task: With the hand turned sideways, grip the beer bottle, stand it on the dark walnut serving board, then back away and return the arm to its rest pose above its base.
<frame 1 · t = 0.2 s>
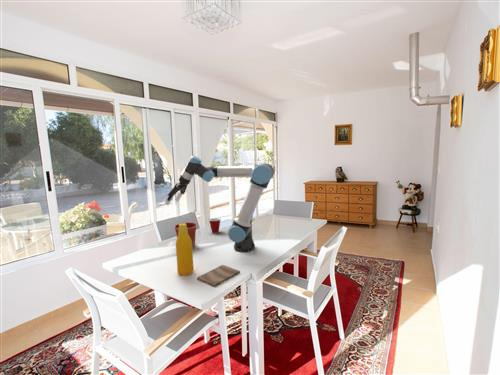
hand: (171, 202, 184), 35 cm above the table, tool tilted 35°, fingers open, 13 cm apart
flower pot: (186, 246, 198), on the table
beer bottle: (185, 272, 155), on the table
plastic cup: (215, 232, 230), on the table
walnut board: (218, 276, 149), on the table
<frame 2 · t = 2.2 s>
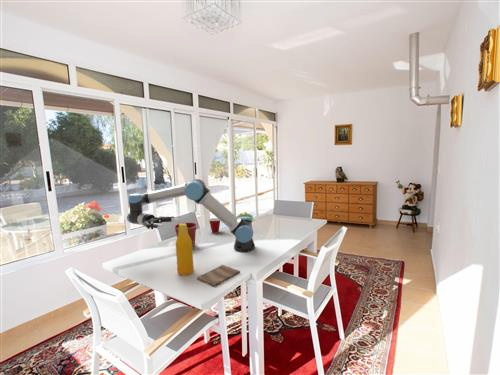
hand: (171, 223, 156), 28 cm above the table, tool horizontal, fingers open, 13 cm apart
nothing on the table moved.
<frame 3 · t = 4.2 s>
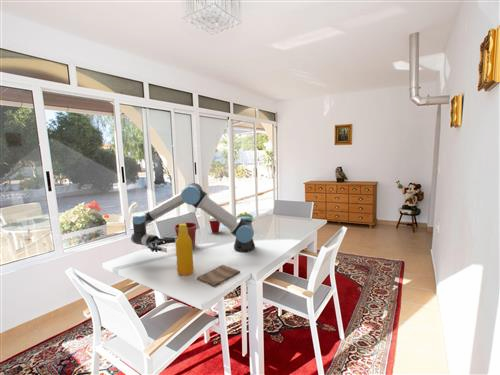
hand: (175, 246, 156), 15 cm above the table, tool horizontal, fingers open, 13 cm apart
nothing on the table moved.
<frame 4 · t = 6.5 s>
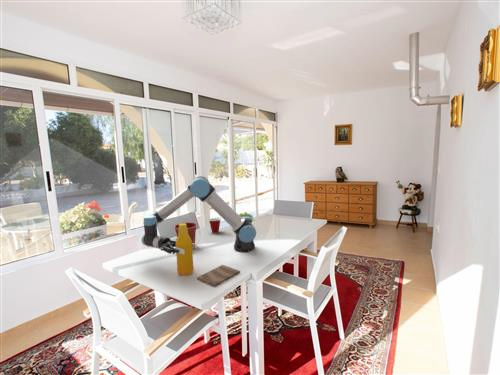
hand: (190, 248, 151), 15 cm above the table, tool horizontal, fingers closed on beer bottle, 9 cm apart
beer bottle: (185, 272, 155), on the table, touching gripper
everything else where it was.
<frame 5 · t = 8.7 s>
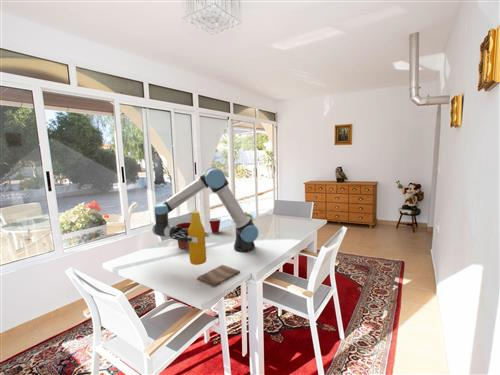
hand: (202, 237, 146), 23 cm above the table, tool horizontal, fingers closed on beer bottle, 9 cm apart
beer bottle: (198, 262, 151), point 8 cm above the table, touching gripper
everything else where it was.
when the fingers open (18 cm above the table, at t = 11.2 s): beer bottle drops 1 cm, resting on walnut board.
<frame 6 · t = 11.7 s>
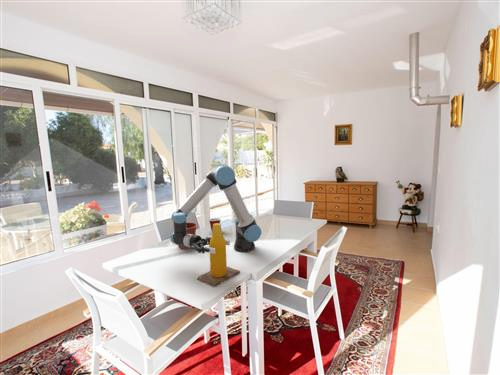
hand: (222, 246, 145), 18 cm above the table, tool horizontal, fingers open, 13 cm apart
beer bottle: (218, 274, 149), point 1 cm above the table, touching walnut board
everything else where it was.
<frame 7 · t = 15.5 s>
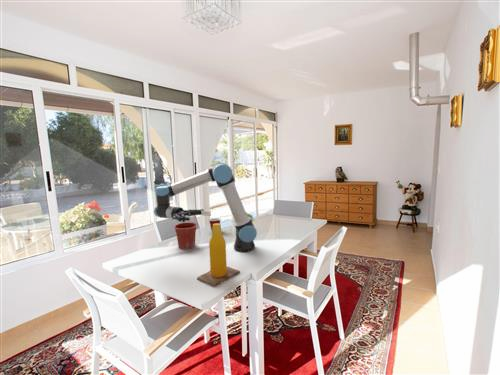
hand: (202, 216, 149), 34 cm above the table, tool horizontal, fingers open, 13 cm apart
nothing on the table moved.
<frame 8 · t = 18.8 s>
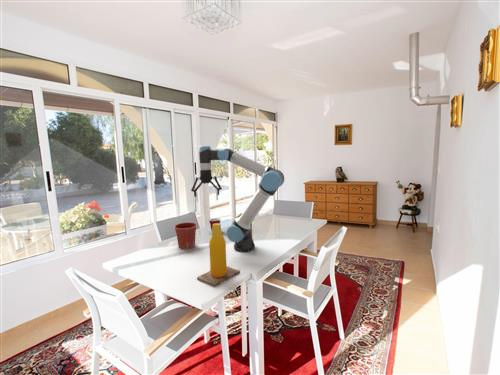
hand: (207, 200, 179), 37 cm above the table, tool pointing down, fingers open, 13 cm apart
nothing on the table moved.
at the end: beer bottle inside the target area on the walnut board (0.1 cm from its centre), point 1.0 cm above the walnut board's base; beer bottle tilted 0°; the gripper is holding nothing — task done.
